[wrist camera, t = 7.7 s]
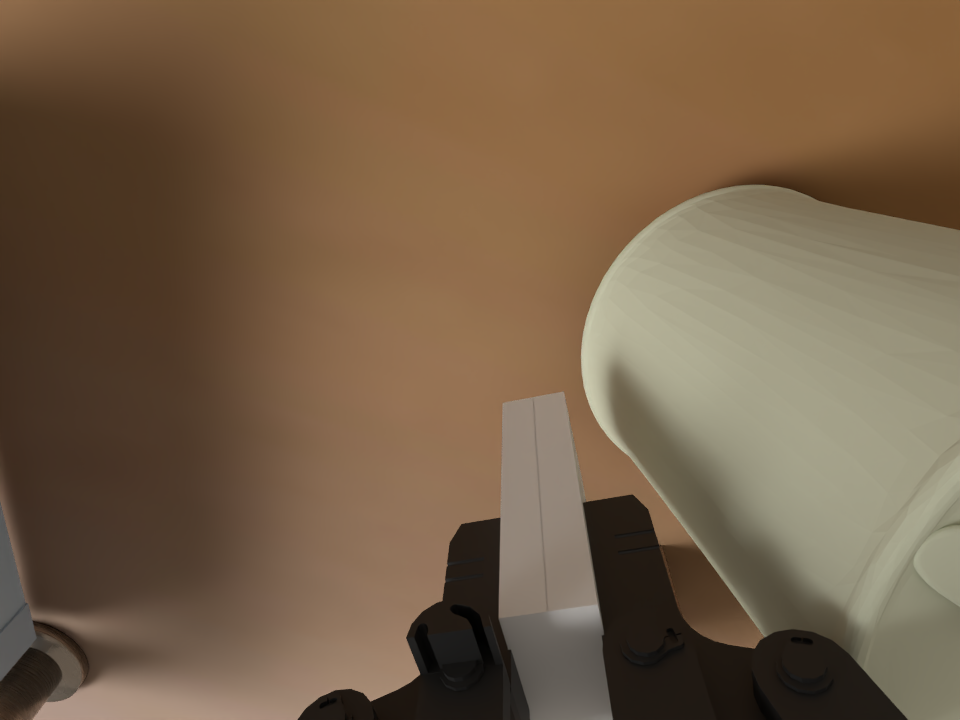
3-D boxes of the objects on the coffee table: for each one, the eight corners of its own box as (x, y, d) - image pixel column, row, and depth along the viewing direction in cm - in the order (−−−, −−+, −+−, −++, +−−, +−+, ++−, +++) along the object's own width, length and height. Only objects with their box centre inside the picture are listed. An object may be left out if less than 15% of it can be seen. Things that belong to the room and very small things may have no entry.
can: (663, 133, 17) (1209, 172, 6) (921, 246, 19) (1651, 426, 8) (532, 432, 20) (738, 847, 9) (774, 499, 22) (1179, 891, 11)
